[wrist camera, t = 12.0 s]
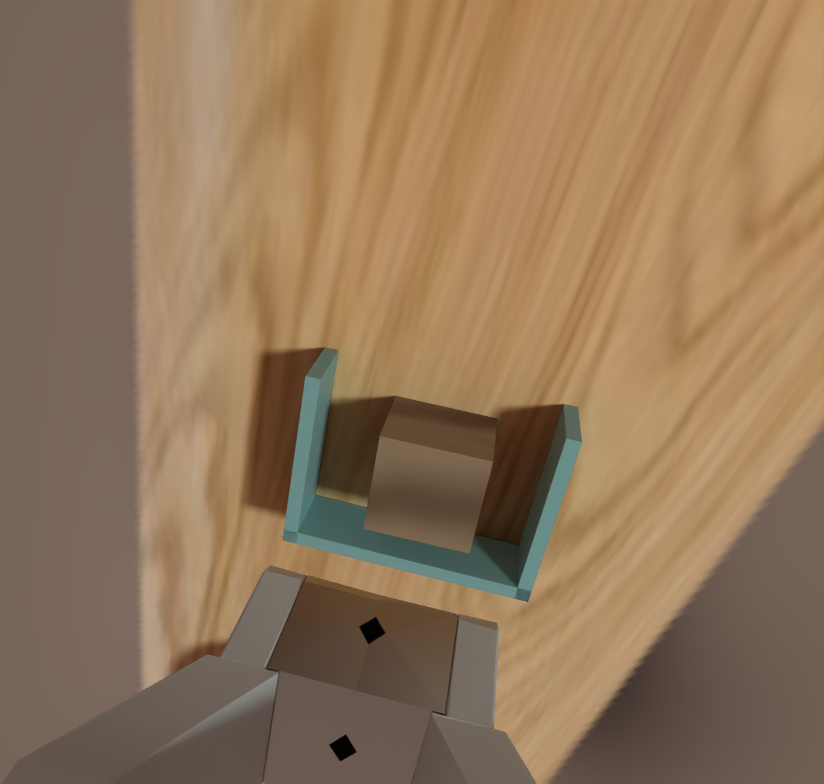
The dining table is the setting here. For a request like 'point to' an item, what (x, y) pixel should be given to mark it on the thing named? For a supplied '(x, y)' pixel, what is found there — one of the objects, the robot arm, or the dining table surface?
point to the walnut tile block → (431, 474)
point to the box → (344, 535)
